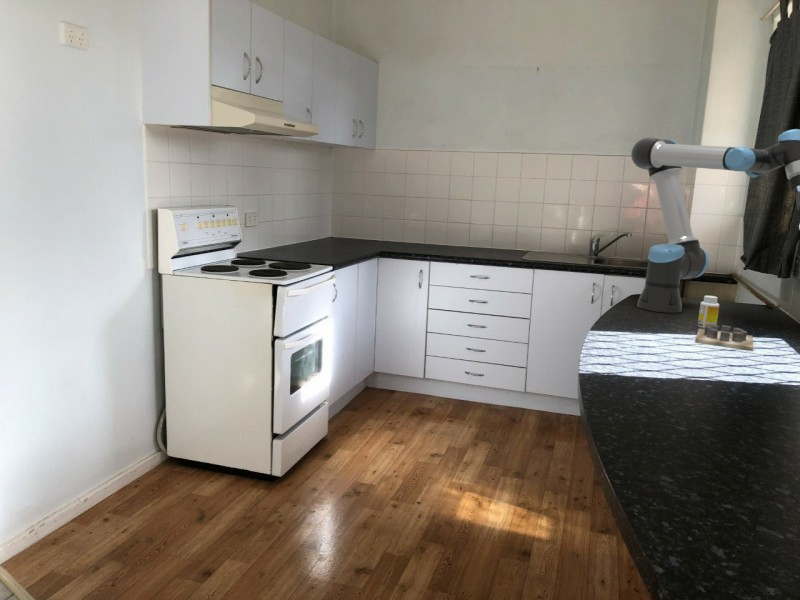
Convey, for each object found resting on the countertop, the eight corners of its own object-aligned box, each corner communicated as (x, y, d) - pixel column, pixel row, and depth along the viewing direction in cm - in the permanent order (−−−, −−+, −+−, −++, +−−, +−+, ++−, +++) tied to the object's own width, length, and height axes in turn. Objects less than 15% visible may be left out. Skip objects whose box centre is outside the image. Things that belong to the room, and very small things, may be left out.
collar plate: (695, 342, 194) (696, 330, 194) (698, 331, 209) (699, 320, 209) (752, 350, 188) (754, 338, 187) (751, 339, 203) (753, 327, 202)
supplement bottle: (719, 328, 216) (723, 297, 214) (710, 330, 212) (715, 298, 210) (702, 325, 220) (706, 294, 218) (694, 326, 216) (698, 295, 214)
